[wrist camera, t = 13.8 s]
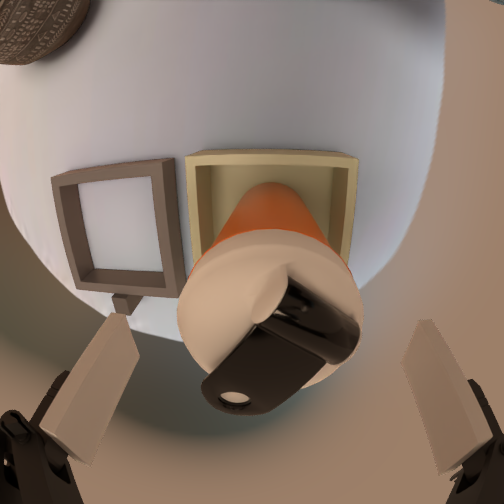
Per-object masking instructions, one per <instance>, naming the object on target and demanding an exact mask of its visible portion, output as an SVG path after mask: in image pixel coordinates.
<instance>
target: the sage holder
mask: <svg viewBox="0 0 504 504" xmlns="http://www.w3.org/2000/svg"><path fill="white" fill-rule="evenodd" d="M358 163H359V159H358V158H355V157H352V156H350V155H347V154H344V153H342V152H332V151H316V150H294V149H220V150H202V151H199V152H196V153H193V154H190V155H188V156H185V167H186V183H187V197H188V210H189V222H190V232H191V243H192V252H193V262H194V265H195V263H196V262H197V261H198V260H199V259H200V258H201V256H202V255H203V254H204V253H205V252H206V251H207V250H208V249H210V248H211V246H212V245H213V243H214V241H215V240H216V238H217V237H218V235H219V233H220V232H221V230H222V228H223V227H224V225H225V224H226V222H227V220H228V219H229V217H230V215H231V214H232V212H233V211H234V209H235V207H236V206H237V204H238V203H239V201H240V200H241V198H242V196H243V195H244V194H245V193H246V192H247V191H248V190H250V189H251V188H252V187H254V186H256V185H259V184H262V183H268V182H274V183H281V184H283V185H286V186H288V187H290V188H291V189H293V190H294V191H295V192H296V193H297V194H298V195H299V196H300V198H301V199H302V200H303V202H304V204H305V205H306V207H307V208H308V210H309V212H310V213H311V215H312V216H313V218H314V220H315V221H316V223H317V225H318V226H319V228H320V229H321V231H322V233H323V234H324V236H325V238H326V239H327V241H328V243H329V245H330V246H331V248H332V249H333V250H334V251H335V252H336V253H337V254H338V255H339V256H340V257H342V259H343V260H344V262H345V263H346V265H348V258H349V251H350V244H351V236H352V228H353V220H354V211H355V201H356V190H357V178H358Z"/></svg>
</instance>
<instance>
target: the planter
mask: <svg viewBox="0 0 504 504" xmlns="http://www.w3.org/2000/svg"><path fill="white" fill-rule="evenodd" d="M89 5H90V0H0V64H6V65H26V64H29V63H32V62H34V61H36V60H38V59H40V58H42V57H44V56H46V55H47V54H49V53H51V52H52V51H54V50H56V49H57V48H59V47H61V46H62V45H64V44H65V43H66V42H67V41H68V40H69V39H70V38H71V37H72V36H73V35H74V34H75V33H76V32H77V30H78V29H79V28H80V26H81V25H82V23H83V21H84V19H85V17H86V15H87V13H88V10H89Z"/></svg>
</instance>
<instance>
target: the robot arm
mask: <svg viewBox="0 0 504 504" xmlns="http://www.w3.org/2000/svg"><path fill="white" fill-rule="evenodd" d="M490 1H492V2H495V3H497V4H501V5H504V0H490ZM139 357H140V356H139V354H138V351H137V348H136V345H135V343H134V340H133V337H132V334H131V331H130V328H129V325H128V322H127V319H126V315H125V314H120V313H112V312H111V314H110V315H109V316H108V318H107V319H106V321H105V322H104V324H103V325H102V326H101V328H100V329H99V331H98V332H97V333H96V335H95V336H94V338H93V339H92V341H91V342H90V344H89V345H88V346H87V348H86V349H85V351H84V352H83V354H82V356H81V357H80V358H79V360H78V361H77V363H76V365H75V366H74V368H73V370H72V371H71V372H69V371H66V370H65V371H64V372H63V373H61V374H60V375H59V376H58V377H57V378H56V379H55V381H54V382H53V384H52V385H51V388H50V389H49V390H48V392H47V395H46V396H45V397H44V398H43V400H42V401H41V403H40V405H39V406H38V408H37V410H36V412H35V413H34V415H33V417H32V418H31V420H30V421H29V422H28V421H27V420H26V419H25V418H24V417H23V415H22V414H21V413H20V412H19V411H16V410H9V411H7V412H5V413H4V414H3V415H2V416H1V418H0V504H84V503H83V501H82V498H81V496H80V493H79V490H78V487H77V485H76V482H75V479H74V476H73V473H72V470H71V467H70V464H69V462H68V460H67V457H68V455H70V456H71V457H72V458H73V459H74V460H75V461H78V462H80V463H82V464H84V465H87V466H89V467H91V464H92V462H93V459H94V457H95V454H96V452H97V450H98V447H99V445H100V442H101V440H102V438H103V435H104V433H105V431H106V428H107V426H108V424H109V421H110V419H111V417H112V415H113V412H114V410H115V408H116V406H117V404H118V401H119V399H120V397H121V395H122V393H123V390H124V388H125V386H126V384H127V382H128V380H129V378H130V376H131V374H132V372H133V369H134V367H135V365H136V363H137V361H138V359H139ZM401 365H402V367H403V370H404V372H405V374H406V377H407V380H408V382H409V385H410V387H411V390H412V393H413V395H414V398H415V401H416V404H417V406H418V409H419V412H420V415H421V418H422V421H423V424H424V427H425V430H426V433H427V436H428V439H429V443H430V446H431V449H432V453H433V456H434V460H435V463H436V467H437V471H438V475H439V476H440V475H442V474H445V473H448V472H450V471H453V470H454V469H456V468H457V467H458V466H460V465H461V464H462V466H463V468H462V469H461V470H460V471H458V472H457V473H456V474H454V475H453V476H452V477H451V478H450V481H452V480H453V479H455V478H456V477H457V479H456V480H455V481H454V482H455V485H454V487H453V489H452V491H451V493H450V495H449V498H448V500H447V502H446V504H504V434H503V433H502V431H501V429H500V427H499V425H498V422H497V420H496V418H495V416H494V414H493V412H492V409H491V407H490V405H488V401H487V399H486V398H485V395H484V393H483V391H482V389H481V387H480V386H479V385H478V384H477V383H476V382H475V381H474V380H473V379H470V380H467V379H466V377H465V375H464V373H463V372H462V370H461V368H460V366H459V364H458V362H457V361H456V359H455V357H454V355H453V354H452V352H451V350H450V348H449V347H448V345H447V344H446V342H445V340H444V338H443V337H442V335H441V333H440V332H439V330H438V328H437V327H436V326H435V324H434V322H433V321H432V319H429V320H419V321H418V323H417V326H416V328H415V331H414V333H413V336H412V338H411V341H410V343H409V345H408V347H407V350H406V352H405V354H404V356H403V359H402V361H401ZM4 459H6V460H7V465H4Z"/></svg>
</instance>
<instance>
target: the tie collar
mask: <svg viewBox="0 0 504 504" xmlns="http://www.w3.org/2000/svg"><path fill="white" fill-rule="evenodd" d="M144 176H151V181H152V191H153V201H154V210H155V218H156V226H157V233H158V240H159V247H160V254H161V260H162V266H163V272H149V271H129V270H110V269H94V266H93V262H92V258H91V254H90V250H89V245H88V241H87V237H86V232H85V227H84V222H83V217H82V211H81V206H80V200H79V193H78V187H77V184H80V183H87V182H95V181H103V180H112V179H122V178H132V177H144ZM51 183H52V190H53V196H54V202H55V207H56V213H57V218H58V222H59V227H60V231H61V236H62V240H63V244H64V248H65V252H66V255H67V259H68V263H69V266H70V270H71V273H72V276H73V279H74V283H75V286H76V289H79V290H88V291H97V292H107V293H115V294H114V295H113V296H112V297H111V298H112V301H113V304H114V307H115V311H116V313H120V314H125V315H129V316H131V314H132V313H133V311H134V310H135V308H136V307H137V305H138V304H139V302H140V301H141V299H142V298H143V296H153V297H166V298H179V296H180V294H181V292H182V290H183V288H184V286H185V284H186V282H187V281H186V274H185V266H184V258H183V250H182V242H181V233H180V223H179V213H178V202H177V190H176V177H175V162H174V158H166V159H154V160H144V161H135V162H126V163H118V164H111V165H104V166H97V167H90V168H84V169H78V170H72V171H68V172H65V173H62V174H59V175H56V176H53V177H51Z"/></svg>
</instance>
